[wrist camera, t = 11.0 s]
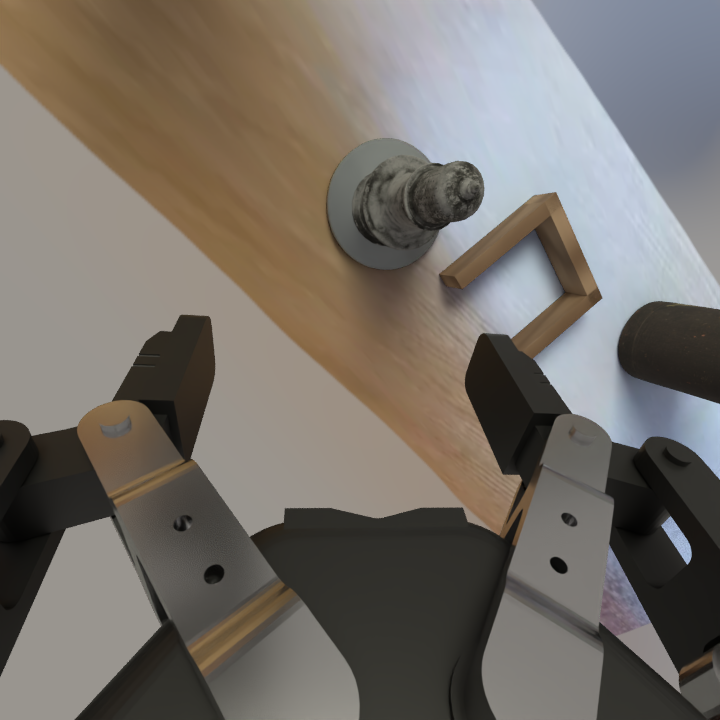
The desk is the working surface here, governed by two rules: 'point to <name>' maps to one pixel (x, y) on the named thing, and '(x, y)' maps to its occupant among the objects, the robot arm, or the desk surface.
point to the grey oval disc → (341, 198)
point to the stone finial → (414, 200)
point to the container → (674, 348)
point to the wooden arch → (564, 258)
